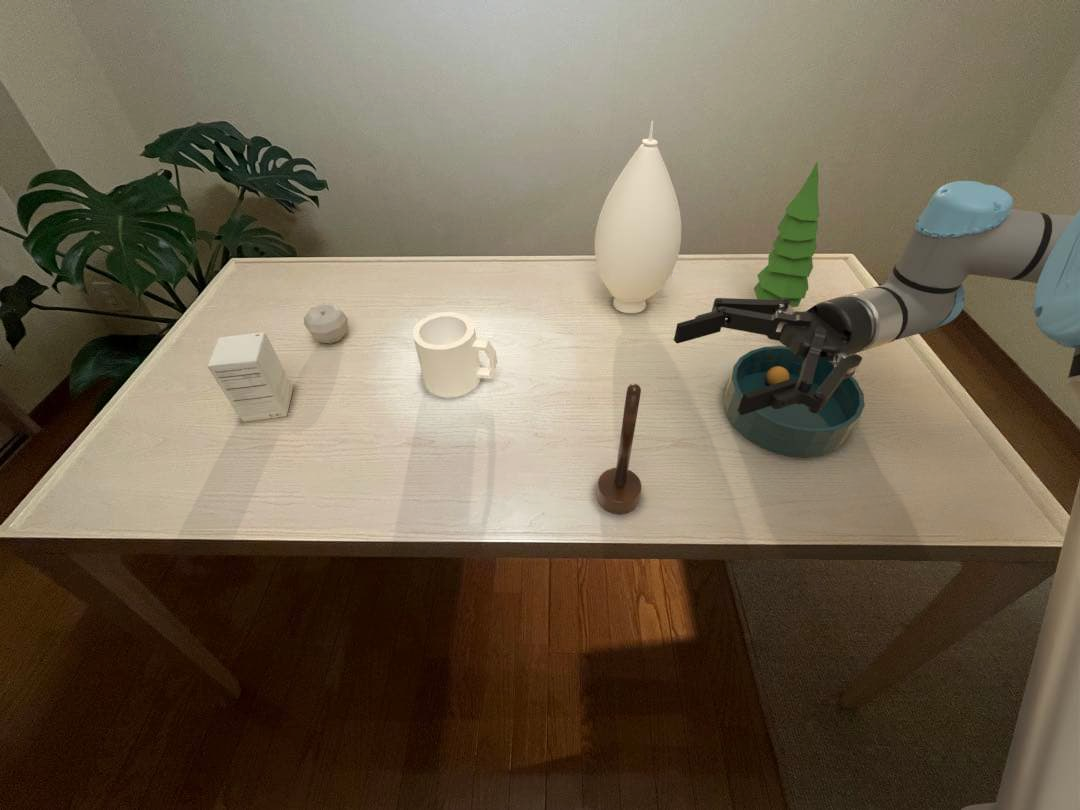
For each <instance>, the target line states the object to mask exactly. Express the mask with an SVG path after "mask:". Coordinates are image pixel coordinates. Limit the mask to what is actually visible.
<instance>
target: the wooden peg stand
mask: <svg viewBox="0 0 1080 810" xmlns="http://www.w3.org/2000/svg"><path fill="white" fill-rule="evenodd" d="M641 394H642V389H641V386H640V385H639V384H637V383H630V384H629V385H628V386H627V388H626V393H625V401H624V408H623V414H622V421H621V422H622V423H621V431H620V437H619V444H618V453H617V457H616V458H617V460H616V467H612V468H608V469H606V470H605V471H604V472H602V473H601V475H600V476H599V477H598V480H597V481H598V482H597V490H596V499H597V503H598V504H599V505H600V507H601V508H602V509H603V510H605V511H606V512H608V513H611V514H613V515H626V514H629V513H631V512H633V511H635V509H636V508H637V506H638V505H639V501H640V497H641V492H642V482H641V480H640V478H639V477H638V475H637V474H636V473H634V472H633V471H632V470H631V469H629V468H630V467H629V466H630V460H631V454H632V449H633V441H634V437H635V431H636V424H637V419H638V412H639V406H640V401H641V400H640V399H641Z"/></svg>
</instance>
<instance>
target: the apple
mask: <svg viewBox="0 0 1080 810" xmlns="http://www.w3.org/2000/svg"><path fill="white" fill-rule="evenodd" d="M348 322H349V321H348V316H347V315H346V314H345V313H344V311H343V310H342V309H341V308H340V306H339V304H335V303H334V304H333V303H322V304H318V305H315V306H313V307H311V308H309V310H308V311H307V312H306V314H305V315H304V316H303V326H305V328H306V329H307V331H308V332H309V334H310V335H311V336H312V337H313V339H315V340H316V341H318V342H319V343H323V344H334V343H337V342H340V341H341V340H342V338H343V337H344V336H345V334H346V332H347V329H348V327H349V323H348Z"/></svg>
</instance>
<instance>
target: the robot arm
mask: <svg viewBox="0 0 1080 810" xmlns="http://www.w3.org/2000/svg"><path fill="white" fill-rule="evenodd" d="M1013 203H1014V200H1013V197H1012V196H1011V194H1010V193H1009V192H1007V191H1006V190H1004V189H1003V188H1001V187H998V186H996V185H993V184H986V183H983V182H980V181H975V180H957V181H952V182H947V183H946V184H944V185H942V186H940V187H938V188H937V190H936V191H935V192H934V193H933V195H932V197H931V198H930V199H929V200H928V202H927V204H926V205H925V207H924V208H923V210H922V212H921V214H920V215H919V217H918V218H917V219H916V221H915V224H914V227H913V229H912V231H911V233H910V235H909V237H908V239H907V240H906V243H905V245H904V246H903V249H902V251H901V253H900V255H899V257H898V259H897V261H896V262H895V265H894V267H893V268H892V270H891V271H890V274H889V275H888V277H887V279H886V281H885V282H884V283H883V284H880V285H877V286H874V287H871V288H867V289H863V290H860V291H856V292H852V293H848V294H845V295H842V296H839V297H835V298H831V299H828V300H827V299H826V300H824V301H821V302H818V303H817V304H814V305H812V306H811V307H810V308H808V309H807V310H805V311H796V310H795V311H794V310H793V309H792V307H791V306H790V304H789V303H790V300H789V299H788V298H779V299H773V300H763V299H757V298H735V297H734V298H732V297H731V298H730V297H716V298H715V299H714V301H713V305H712V308H711V311H709V312H705V313H702V314H698V315H696V316H695V317H694V318H693V319H689V320H685V321H681V322H678V323H677V324H676V327H675V333H674V338H673V341H674V342H675V343H676V344H677V345H678V344H681V343H684V342H688V341H691V340H696V339H699V338H701V337H706V336H710V335H713V334H717V333H720V332H721V330H722V328H723V329H729V330H736V331H741V332H746V333H752V334H757V335H761V336H766V337H767V338H768V340H772V341H778V342H780V344H782V346H786V347H788V348H789V349H790V350H791V352H792V353H793V354H794V355H795V356H797V355H799V356H801V357H804V360H803V364H802V367H801V368H802V369H801V372H800V375H799V379H798V382H796V381H795V380H794V379H793V378H792V379H789V380H786V381H783V382H780V383H776V384H773V385H770V386H767V387H764V388H761V389H757V390H754V391H751V392H748V393H745V394H743V397H742V400H741V402H740V405H739V408H738V412H739V413H740V414H741V415H744V414H747V413H750V412H753V411H757V410H760V409H763V408H766V407H769V406H771V407H772V408H773V409H780V408H783V407H786V406H789V405H792V404H795V403H796V404H804V405H806V406H808V410H809V411H810V412H811V413H818V412H819V411H820V410H821V409H822V407H823V406H824V405H825V403H826V402H827V401H828V399H829V398H830V397H831V395H832V394H833V393H834V391H835V390H836V389H837V387H838V386H839V384H840V383H841V382H842V380H844V379H847V378H849V377H851V376H853V377H854V375H855V373H856V371H857V370H858V368H859V366H860V364H861V363H862V360H863V357H862V356H861V355H859V353H861V352H865V351H868V350H870V349H874V348H878V347H880V346H883V345H886V344H890V343H892V342H895V341H898V340H901V339H905V338H909V337H912V336H916V335H922V334H926V333H930V332H931V331H933V330H936V329H937V328H939V327H942V326H945V325H947V324H949V323H951V322H952V321H954V320H955V319H956V318H957V317H958V316H959V315H960V314H961V312H962V311H963V309H964V306H965V295H966V292H965V288H964V286H963V283H964V281H965V280H966V279H967V278H968V276H969V275H973V276H980V277H987V278H996V279H1003V280H1010V281H1020V282H1027V283H1031V284H1036V288H1035V291H1034V297H1033V313H1034V315H1035V317H1036V318H1037V320H1036V326H1037V327H1038V329H1039V331H1040V332H1041V333H1042V334H1043V335H1044V336H1045V337H1047V338H1048V339H1050V340H1052V341H1054V342H1055V343H1056V344H1057V345H1060V346H1062V347H1064V348H1069V349H1071V348H1072V349H1074V352H1073V356H1072V361H1071V365H1070V368H1069V373H1068V376H1067V379H1066V387H1067V388H1068V389H1069V390H1070V391H1071V392H1072V393H1073V394H1074V395H1075V396H1076V398H1078V399H1079V400H1080V210H1078V211H1077V212H1076V214H1075V215H1065V214H1054V213H1045V212H1040V211H1039V212H1038V211H1032V210H1031V211H1030V210H1020V209H1013V208H1012V207H1013ZM780 322H782V323H783V325H782V327H781V330H780V331H777V330H778V326H780V325H779V323H780ZM818 360H825V361H834V362H835V364H834V367H835V368H834V369H833V370H832V372H831V373H830V374H829V376H828V377H827V378H826V379H825V381H824V382H823V383H822V385H821V386H820V387H819V388H818V390H817V391H814V390H813V389H811V386H812V384H813V382H812V381H813V378H814V374H815V370H816V367H817V363H818ZM796 384H797V385H796ZM795 386H796V387H795ZM1050 588H1051V589H1050V591H1049V596H1048V600H1047V605H1046V606H1045V612H1044V615H1043V619H1042V623H1041V627H1040V630H1039V634H1038V638H1037V643H1036V646H1035V650H1034V655H1033V658H1032V662H1031V666H1030V670H1029V673H1028V677H1027V680H1026V681H1027V682H1026V684H1025V688H1024V692H1023V695H1022V696H1023V697H1022V700H1021V705H1020V708H1019V712H1018V715H1017V720H1016V723H1015V726H1014V731H1013V735H1012V738H1011V743H1010V747H1009V751H1008V755H1007V758H1006V762H1005V766H1004V770H1003V774H1002V778H1001V781H1000V785H999V788H998V789H999V790H998V792H997V796H996V800H995V802H989V803H988V802H987V803H978V804H971V805H968V806H964V807H963V808H961V809H960V810H1080V479H1078V483H1077V488H1076V492H1075V495H1074V499H1073V502H1072V507H1071V511H1070V515H1069V519H1068V523H1067V526H1066V531H1065V534H1064V537H1063V542H1062V546H1061V550H1060V554H1059V557H1058V562H1057V565H1056V569H1055V573H1054V577H1053V580H1052V585H1051V587H1050Z"/></svg>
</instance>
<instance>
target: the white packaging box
mask: <svg viewBox="0 0 1080 810" xmlns="http://www.w3.org/2000/svg"><path fill="white" fill-rule="evenodd" d="M206 367H207V369H208V370H209V372H210V374H211V375H212V376H213V378H214V379H215V381H216V382H217V384H218V386H219V387H220V389H221V390H222V392H223V394H224V395H225V397H226V398H227V400H228V402H229V403H230V404H231V407H232V408H233V409H234V410H235V413H236V414H237V415H238V417H239V418H240V420H241V422H243V423H244V422H254V421H261V420H269V419H276V418H284V417H287V416H288V413H289V412H288V411H289V408H290V403H291V398H292V394H293V389H294V386H293V385H292V382H291V381H290V378H289V377H288V374H287V372H286V371H285V369H284V366H283V365H282V363H281V361H280V359H279V357H278V355H277V353H276V351H275V349H274V347H273V345H272V343H271V341H270V339H269V337H268V335H267V333H266V332H265V331H263V332H252V333H244V334H236V335H229V336H228V335H227V336H221V337H218V338H217V341H216V344H215V346H214V349H213V351H212V354H211V355H210V358H209V361H208V363H207V365H206Z"/></svg>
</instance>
